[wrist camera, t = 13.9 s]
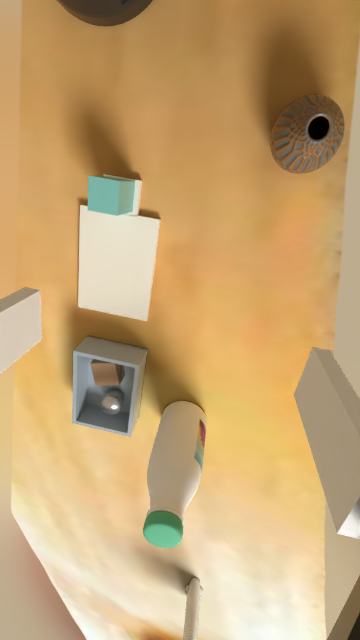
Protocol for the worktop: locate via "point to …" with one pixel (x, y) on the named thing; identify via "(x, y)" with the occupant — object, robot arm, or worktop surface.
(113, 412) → the metal part
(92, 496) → the worktop surface
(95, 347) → the tub
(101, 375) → the walnut part
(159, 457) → the milk bottle
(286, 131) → the vase
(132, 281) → the lid
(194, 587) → the tall pale column
